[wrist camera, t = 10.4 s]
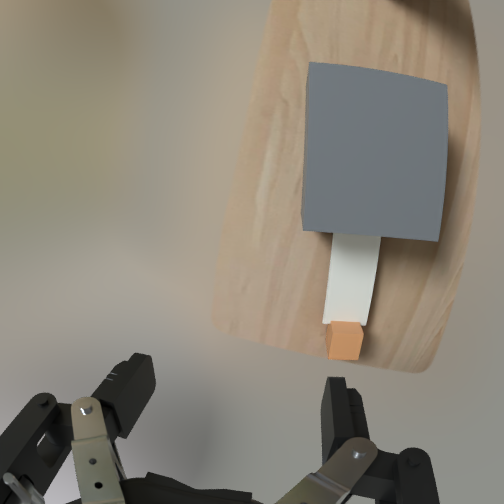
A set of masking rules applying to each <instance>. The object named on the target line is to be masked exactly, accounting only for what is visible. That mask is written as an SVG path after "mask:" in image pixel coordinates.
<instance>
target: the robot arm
mask: <svg viewBox="0 0 504 504" xmlns="http://www.w3.org/2000/svg"><path fill="white" fill-rule="evenodd" d="M155 386H156V379H155V374H154V368H153V363H152V358H151V356H150V355H145V354H139V353H134V354H133V355H132V356H131V358H130V359H129V360H128V361H122V362H121V363H119V364H117V365H116V366H115V367H114V368H113V370H112V371H111V372H110V374H108V375H107V377H106V379H104V380H103V382H102V383H101V384H100V385H99V387H98V388H97V389H96V390H95V392H94V393H93V394H92V396H90V397H82V398H79V399H77V400H76V401H74V402H73V404H64V403H57V401H56V398H55V397H54V395H52V394H50V393H39V394H37V395H35V396H34V397H33V398H32V399H31V400H30V401H29V402H28V403H27V405H26V406H25V407H24V408H23V409H22V410H21V412H20V413H19V414H18V415H17V416H16V418H15V419H14V420H13V421H12V422H11V424H10V425H9V426H8V427H7V428H6V430H5V431H4V432H3V433H2V435H1V436H0V504H45V501H44V498H43V496H44V495H45V493H46V491H47V489H48V488H49V486H50V484H51V482H52V481H53V479H54V478H55V476H56V474H57V473H58V471H59V469H60V468H61V466H62V464H63V463H64V461H65V459H66V458H67V456H68V454H69V453H70V451H71V450H72V453H73V459H74V465H75V471H76V476H77V481H78V487H79V491H80V496H81V498H79V499H77V500H74V501H72V502H69V503H66V504H263V503H260V502H258V501H256V500H253V499H252V493H251V492H243V491H235V490H228V489H208V490H207V489H205V490H199V489H194V488H192V487H190V486H187V485H185V484H183V483H181V482H179V481H177V480H175V479H173V478H169V477H165V476H162V475H158V474H154V473H151V472H148V473H147V475H146V477H145V478H130V479H127V478H126V475H125V473H124V469H123V466H122V463H121V460H120V456H119V453H118V450H117V447H116V443H115V439H116V438H117V436H119V437H122V438H124V439H126V438H127V437H128V435H129V433H130V432H131V430H132V428H133V426H134V425H135V423H136V421H137V420H138V418H139V416H140V414H141V413H142V411H143V409H144V408H145V406H146V404H147V403H148V401H149V399H150V398H151V396H152V394H153V393H154V390H155ZM321 432H322V467H321V468H320V469H319V470H318V471H317V472H316V473H310V474H308V475H307V476H306V477H305V478H303V479H302V480H301V481H300V482H299V483H298V484H297V485H296V486H295V487H294V488H293V489H291V490H290V491H289V492H288V493H287V494H285V495H284V496H283V497H282V498H281V499H280V500H278V501H277V502H276V503H275V504H347V503H348V501H349V500H350V499H351V498H352V497H353V496H354V495H358V496H362V497H367V498H372V499H375V504H440V503H439V497H438V492H437V487H436V482H435V478H434V473H433V469H432V465H431V460H430V457H429V455H428V454H427V453H426V452H425V451H423V450H422V449H419V448H407V449H405V450H403V451H402V452H400V454H394V453H389V452H384V451H381V450H379V449H378V448H377V447H376V445H375V444H374V443H373V442H372V441H370V437H369V432H368V427H367V421H366V417H365V414H364V407H363V402H362V397H361V395H360V394H359V393H358V392H357V390H356V389H355V388H354V389H353V388H352V389H350V388H347V387H346V381H345V378H344V377H328V378H327V381H326V385H325V391H324V395H323V399H322V404H321ZM44 433H45V437H44V438H43V439H42V441H41V442H40V444H39V445H38V446H37V444H38V442H39V440H40V439H41V438H42V436H43V435H44Z"/></svg>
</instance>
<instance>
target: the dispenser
mask: <svg viewBox="0 0 504 504" xmlns="http://www.w3.org/2000/svg"><path fill="white" fill-rule="evenodd" d="M447 152H448V92H447V85H446V84H442V83H438V82H434V81H430V80H426V79H422V78H417V77H413V76H408V75H403V74H398V73H393V72H388V71H382V70H376V69H369V68H362V67H355V66H347V65H338V64H328V63H316V62H309V68H308V76H307V83H306V112H305V144H304V168H303V188H302V206H301V217H302V226H303V231H316V232H330V233H343V234H356V235H369V236H381V237H393V238H404V239H415V240H426V241H437V242H438V239H439V233H440V226H441V219H442V212H443V203H444V194H445V183H446V170H447Z"/></svg>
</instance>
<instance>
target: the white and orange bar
mask: <svg viewBox="0 0 504 504" xmlns="http://www.w3.org/2000/svg"><path fill="white" fill-rule="evenodd" d="M380 242H381V236H369V235H356V234H343V233H333V238H332V248H331V258H330V267H329V275H328V284H327V292H326V299H325V307H324V314H323V321H322V322H323V324H328V327H327V333H326V346H327V354H328V359H337V360H358V357H359V353H360V349H361V345H362V340H363V336H364V333H363V330H362V327H361V325H365V326H366V323H367V318H368V313H369V308H370V303H371V298H372V293H373V287H374V281H375V275H376V269H377V263H378V256H379V249H380Z"/></svg>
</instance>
